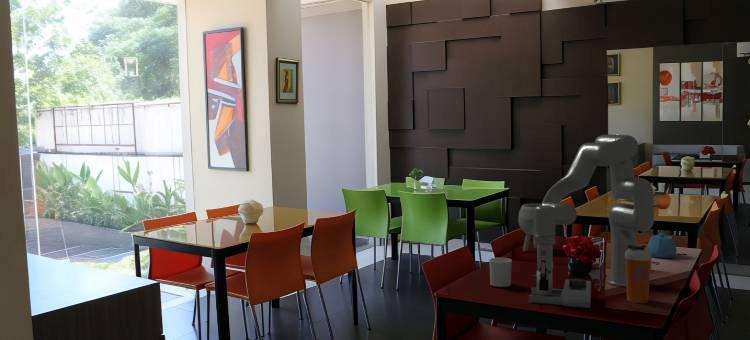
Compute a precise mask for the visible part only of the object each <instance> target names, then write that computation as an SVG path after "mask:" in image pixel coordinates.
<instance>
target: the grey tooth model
mask: <svg viewBox="0 0 750 340" xmlns="http://www.w3.org/2000/svg"><path fill="white" fill-rule="evenodd" d="M541 204H542V203H525V204H522V205H521V207H520V209H519V212H518V217H517V218H518V225H519V227H520V229H521V230H522V231H523V233H524V234H525V237H524V243H523V246H522V251H523V252H527V251H528V249H529V245H530V242H531V238H532V239H533V240H532V241H534V209H535V207H536V206H540V205H541ZM533 248H534V249H537V244H534V243H533Z"/></svg>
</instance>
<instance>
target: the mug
mask: <svg viewBox="0 0 750 340" xmlns="http://www.w3.org/2000/svg"><path fill="white" fill-rule="evenodd" d="M512 261H513V260H512V259H511V258H507V257H492V258H489V259H488V262H489V263H488V264H489V281H490V285H489V286H491V288H495V289H507V288H510V287H511V286H512V263H513V262H512Z"/></svg>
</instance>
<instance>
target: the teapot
mask: <svg viewBox="0 0 750 340" xmlns="http://www.w3.org/2000/svg"><path fill="white" fill-rule="evenodd" d="M646 246H647V247H649V249H650V253H651V258H652V257H653V258H661V259H664V258H665V259H671V258H672V259H673V258H675V257H676V255H677V252H678V251H677V246H676V243H675V240H674V239H673V237H672V236H670V235H666V234H665V233H662V232H660V233H658V235H652V236H651V237H650V239H649V241H648V243H647V245H646Z"/></svg>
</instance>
